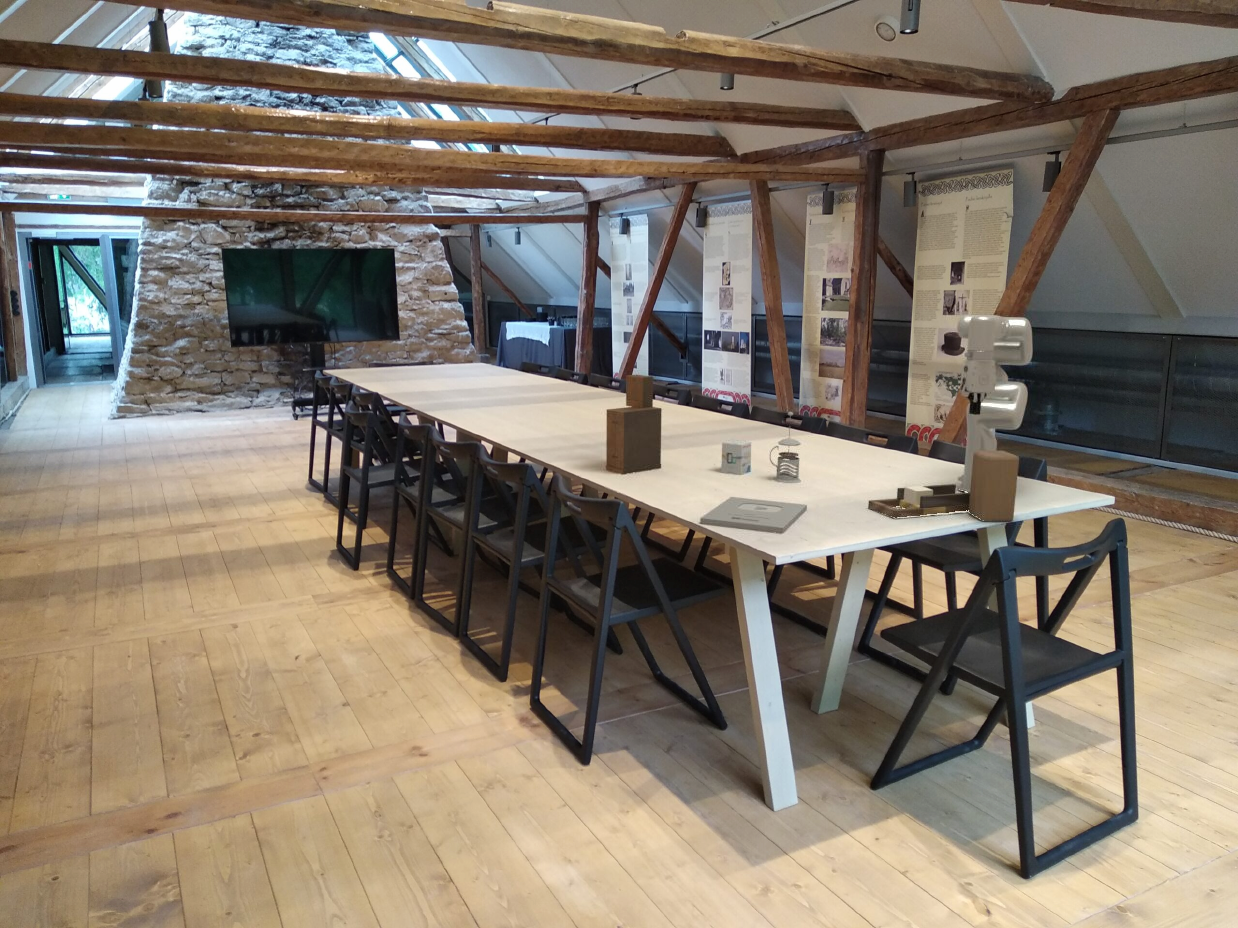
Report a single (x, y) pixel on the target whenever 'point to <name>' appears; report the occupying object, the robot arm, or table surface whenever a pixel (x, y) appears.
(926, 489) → the cream block
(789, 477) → the french press
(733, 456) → the ink box
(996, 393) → the robot arm
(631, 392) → the stacked wooden blocks
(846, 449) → the table surface
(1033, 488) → the table surface
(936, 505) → the tunnel deck
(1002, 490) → the block
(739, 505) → the award plaque
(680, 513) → the table surface
